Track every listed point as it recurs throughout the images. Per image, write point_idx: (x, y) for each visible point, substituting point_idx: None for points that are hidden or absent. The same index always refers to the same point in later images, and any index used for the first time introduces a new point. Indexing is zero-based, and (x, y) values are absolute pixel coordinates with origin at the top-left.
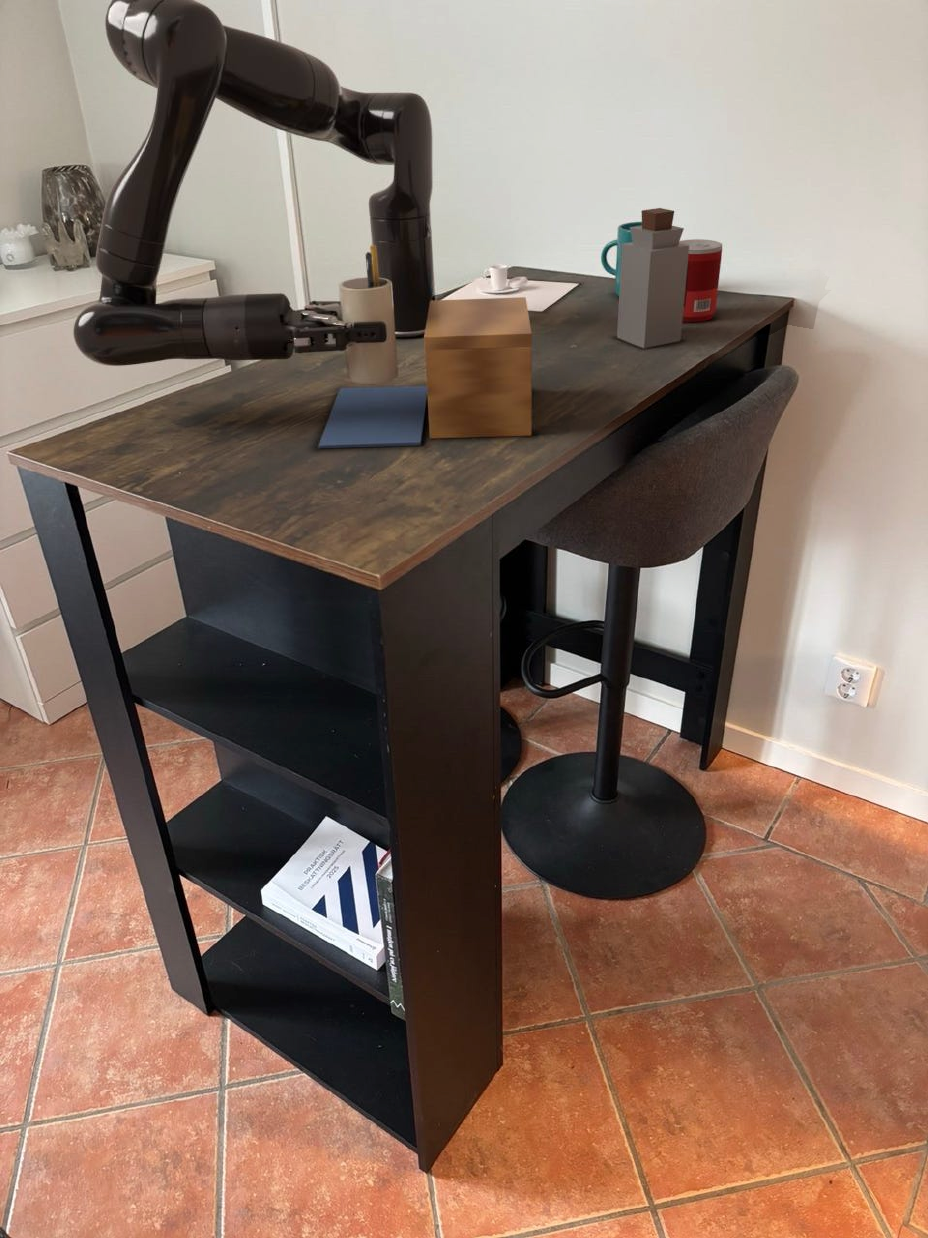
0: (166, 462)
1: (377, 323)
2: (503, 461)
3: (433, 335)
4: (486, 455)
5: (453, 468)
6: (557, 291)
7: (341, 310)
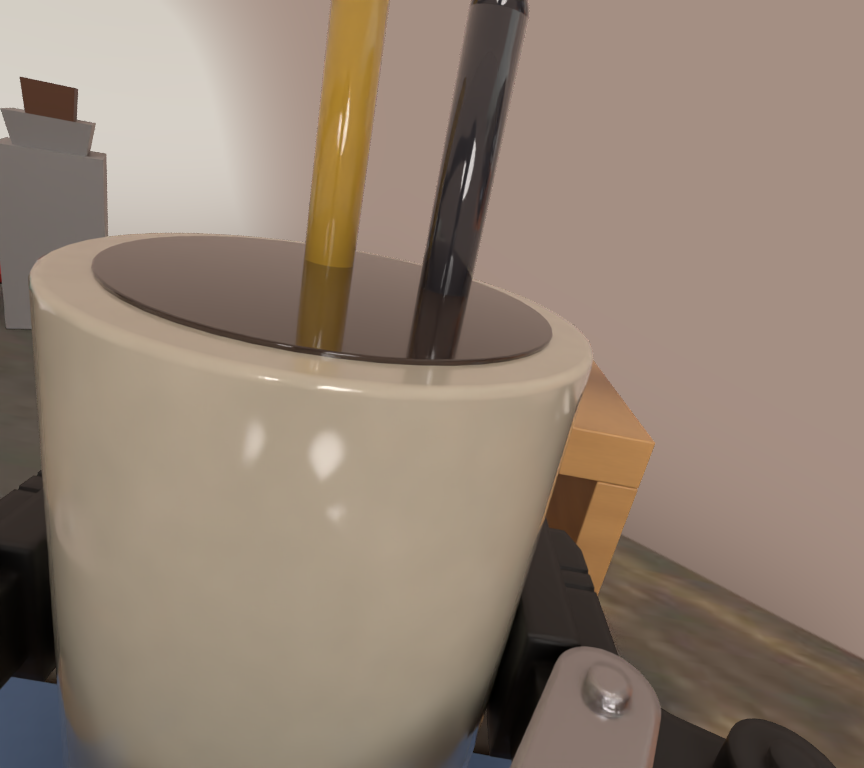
0: None
1: (545, 519)
2: (657, 602)
3: (628, 423)
4: (633, 625)
5: (740, 708)
6: None
7: (346, 669)
